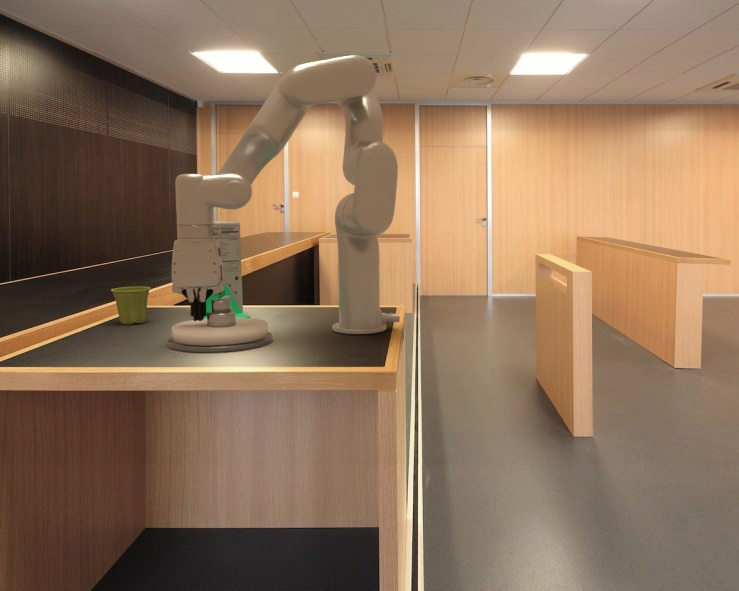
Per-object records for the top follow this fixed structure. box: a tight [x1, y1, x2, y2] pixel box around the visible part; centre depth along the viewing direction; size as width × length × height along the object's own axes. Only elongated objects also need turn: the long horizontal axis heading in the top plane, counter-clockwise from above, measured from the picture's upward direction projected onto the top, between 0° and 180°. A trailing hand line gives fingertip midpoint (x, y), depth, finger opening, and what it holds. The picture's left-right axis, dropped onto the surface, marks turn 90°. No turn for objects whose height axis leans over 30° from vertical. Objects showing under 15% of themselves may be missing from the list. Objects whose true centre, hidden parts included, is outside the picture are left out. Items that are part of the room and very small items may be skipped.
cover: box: [207, 299, 236, 328], centre depth 142 cm, size 6×6×5 cm
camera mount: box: [204, 285, 251, 319], centre depth 161 cm, size 12×8×10 cm, turn 120°
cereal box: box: [195, 220, 244, 313], centre depth 176 cm, size 22×8×25 cm, turn 29°
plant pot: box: [110, 286, 151, 325], centre depth 167 cm, size 9×9×9 cm
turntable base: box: [166, 331, 274, 354], centre depth 143 cm, size 22×22×1 cm
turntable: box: [171, 296, 269, 346], centre depth 142 cm, size 20×20×7 cm
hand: (198, 319), depth 142 cm, fingers closed
